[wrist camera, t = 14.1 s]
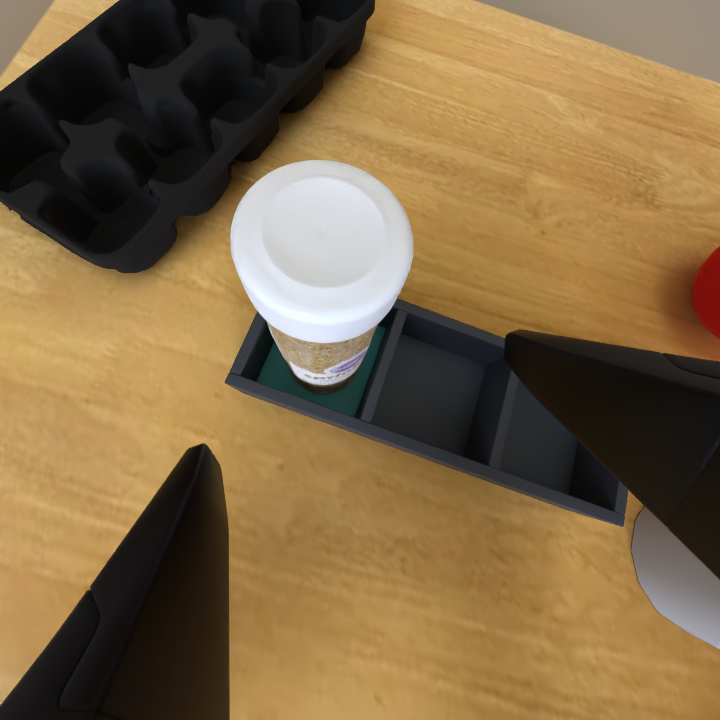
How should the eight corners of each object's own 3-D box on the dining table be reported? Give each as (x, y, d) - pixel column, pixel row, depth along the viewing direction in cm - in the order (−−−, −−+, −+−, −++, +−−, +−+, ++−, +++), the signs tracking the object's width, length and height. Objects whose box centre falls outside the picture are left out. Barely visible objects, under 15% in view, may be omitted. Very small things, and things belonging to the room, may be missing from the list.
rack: (568, 510, 21) (623, 527, 17) (242, 392, 21) (223, 382, 17) (588, 396, 23) (641, 388, 19) (290, 286, 23) (282, 255, 19)
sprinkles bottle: (325, 410, 20) (327, 363, 7) (272, 359, 21) (180, 227, 8) (375, 357, 21) (455, 232, 8) (323, 310, 22) (321, 119, 9)
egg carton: (383, 23, 29) (392, -37, 25) (226, 326, 21) (206, 304, 18) (194, -56, 29) (175, -128, 25) (-31, 223, 21) (-105, 179, 18)
